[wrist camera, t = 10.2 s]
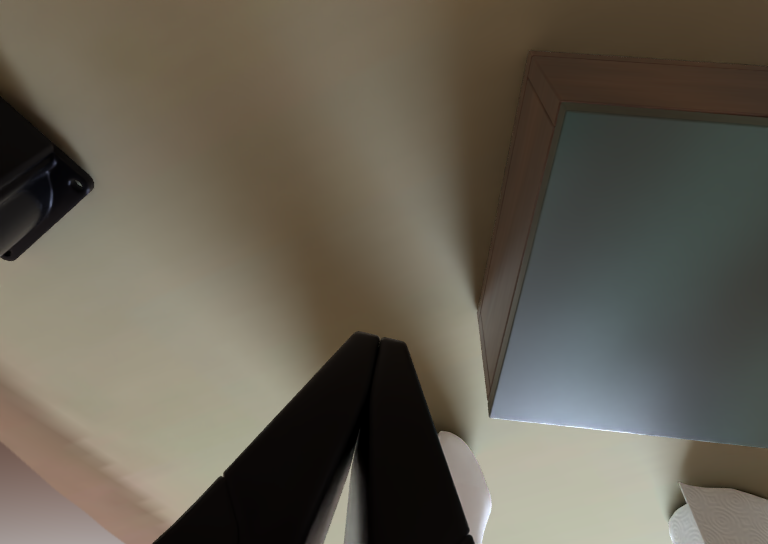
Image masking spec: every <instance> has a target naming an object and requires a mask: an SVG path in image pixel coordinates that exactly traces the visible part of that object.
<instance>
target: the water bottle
mask: <svg viewBox="0 0 768 544" xmlns="http://www.w3.org/2000/svg"><path fill="white" fill-rule="evenodd" d="M438 438H439V441H440V444H441V447H442V450H443V453H444V455H445V458H446V461H447V464H448V467H449V470H450V473H451V476H452V479H453V482H454V485H455V488H456V491H457V493H458V496H459V499H460V502H461V505H462V508H463V511H464V514H465V517H466V520H467V523H468V526H469V528H470V532H469V534H470V535H472V537H473V539H474V542H475V544H482V538H483V533H484V529H485V526H486V523H487V520H488V518H489V515H490V512H491V507H492V502H491V495H490V492H489V489H488V486H487V484H486V481H485V478H484V475H483V472H482V470H481V468H480V465H479V463H478V461H477V459H476V457H475V455H474V454H473V452H472V451H471V449H470V448H469V446H468V445H467V444H466V443H465V442H464V441H463V440H462V439H461V438H460V437H458V436H456V435H455V434H453V433H451V432H447V431H440V432H439V434H438Z"/></svg>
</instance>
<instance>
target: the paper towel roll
mask: <svg viewBox="0 0 768 544" xmlns="http://www.w3.org/2000/svg"><path fill="white" fill-rule="evenodd" d="M678 484H679V486H680V489H681V491H682V493H683V496H684V498H685V500H686V503H687V504H685V505H684V506H682V507H681V508H679V509H677V510H676V511H675V512H674V514H673V515H672V517H671V518H670V520H669V531H670V536H671V539H672V542H673V544H768V500H766V499H763V498H760V497H757V496H754V495H752V494H748V493H745V492H742V491H738V490H735V489H732V488H703V487H697V486H691V485H686V484H684V483H681V482H678Z"/></svg>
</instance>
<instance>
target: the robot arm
mask: <svg viewBox="0 0 768 544" xmlns="http://www.w3.org/2000/svg"><path fill="white" fill-rule="evenodd" d="M75 180H77V181H79V182H80V183H81V184H82V186H83V187H81V186H79V185H78V184H77V183H76V181H75ZM93 188H94V182H93V179H92V178H91V177H90V176H89V174H87V173H86V172H85V171H84V170H83V169H82V168H81V167H80V166H78V165H77V164H76V163H75V162H74V161H73V160H72V159H71V158H69V157H68V156H67V155H66V154H65V153H64V152H63V151H62V150H60V149H59V148H58V147H57V146H56V145H55V144H54V143H53V142H51V141H50V140H49V139H48V138H47V137H46V136H45V135H44V134H42V133H41V132H40V131H39V130H38V129H37V128H36V127H34V126H33V125H32V124H31V123H30V122H29V121H28V120H27V119H25V118H24V117H23V116H22V115H21V114H20V113H19V112H18V111H16V110H15V109H14V108H13V107H12V106H11V105H10V104H9V103H7V102H6V101H5V100H4V99H3V98H2V97H1V96H0V257H1V258H2V259H4V260H7V261H14V260H16V259H17V258H18V257H19V256H20V255H21V254H22V253H24V252H25V251H26V250H27V249H28V248H29V247H30V246H31V245H32V244H33V243H35V242H36V241H37V240H38V239H39V238H40V237H41V236H42V235H43V234H44V233H46V232H47V231H48V230H49V229H50V228H51V227H52V226H53V225H54V224H55V223H57V222H58V221H59V220H60V219H61V218H62V217H63V216H64V215H65V214H66V213H68V212H69V211H70V210H71V209H72V208H73V207H74V206H75V205H76V204H77V203H79V202H80V201H81V200H82V199H83V198H84V197H85V196H86V195H87V194H88V193H90V192H91V191H92V189H93ZM379 342H380V343H379ZM357 438H358V439H357ZM355 447H356V448H355ZM354 451H355V452H354ZM353 455H354V458H353ZM352 459H353V463H352ZM351 463H352V469H351V477H350V486H349V496H348V507H347V517H346V527H345V538H344V544H475V542H474V539H473V537H472V535H470V534H469V532H470V528H469V526H468V523H467V520H466V517H465V514H464V511H463V508H462V505H461V502H460V499H459V496H458V493H457V491H456V488H455V485H454V482H453V479H452V476H451V473H450V470H449V467H448V464H447V461H446V458H445V455H444V453H443V450H442V447H441V444H440V441H439V438H438V435H437V432H436V429H435V426H434V423H433V420H432V418H431V415H430V412H429V409H428V406H427V403H426V400H425V397H424V394H423V391H422V388H421V385H420V382H419V380H418V377H417V374H416V371H415V368H414V365H413V362H412V359H411V356H410V353H409V350H408V347H407V345H406V343H404V342H403V341H399V340H395V339H391V338H386V337H384V338H382V339H381V340H380V338H379V337H378V336H377V335H373V334H369V333H365V332H360V331H357V332H355V333H354V334H353V335H352V336H351V337H350V338H349V339H348V340H347V341H346V342H345V343H344V344H343V345H342V346H341V347H340V348H339V350H338V351H337V352H336V353H335V354H334V355H333V356H332V357H331V358H330V359H329V360H328V361H327V362H326V363H325V365H324V366H323V367H322V368H321V369H320V370H319V371H318V372H317V373H316V374H315V375H314V376H313V377H312V378H311V380H310V381H309V382H308V383H307V384H306V385H305V386H304V387H303V388H302V389H301V390H300V391H299V392H298V393H297V394H296V396H295V397H294V398H293V399H292V400H291V401H290V402H289V403H288V404H287V405H286V406H285V407H284V408H283V409H282V411H281V412H280V413H279V414H278V415H277V416H276V417H275V418H274V419H273V420H272V421H271V422H270V423H269V424H268V425H267V427H266V428H265V429H264V430H263V431H262V432H261V433H260V434H259V435H258V436H257V437H256V438H255V439H254V440H253V442H252V443H251V444H250V445H249V446H248V447H247V448H246V449H245V450H244V451H243V452H242V453H241V454H240V455H239V456H238V458H237V459H236V460H235V461H234V462H233V463H232V464H231V465H230V466H229V467H228V468H227V469H226V470H225V471H224V473H223V477H222V476H220V477H219V478H218V479H217V480H216V481H215V482H214V483H213V484H212V485H211V486H210V487H209V488H208V489H207V490H206V491H205V492H204V494H203V495H202V496H201V497H200V498H199V499H198V500H197V501H196V502H195V503H194V504H193V505H192V506H191V507H190V508H189V509H188V510H187V511H186V512H185V513H184V514H183V515H182V516H181V517H180V518H179V519H178V520H177V521H176V522H175V523H174V524H173V525H172V526H171V527H170V528H169V529H168V530H167V531H165V532H164V533H163V534H162V535H161V536H160V537H159V538H158V539H157V540H156V541H154V542H153V543H152V544H323V543H324V540H325V538H326V535H327V532H328V529H329V526H330V524H331V521H332V518H333V515H334V512H335V510H336V507H337V504H338V501H339V498H340V496H341V493H342V490H343V487H344V484H345V482H346V479H347V476H348V472H349V469H350V466H351Z"/></svg>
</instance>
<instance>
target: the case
mask: <svg viewBox="0 0 768 544" xmlns="http://www.w3.org/2000/svg"><path fill="white" fill-rule="evenodd" d="M562 102H572V103H585V104H598V105H611V106H624V107H636V108H649V109H662V110H675V111H687V112H700V113H713V114H726V115H739V116H751V117H764V118H768V66H757V65H742V64H727V63H712V62H697V61H682V60H667V59H652V58H636V57H621V56H606V55H591V54H576V53H561V52H546V51H531V50H530V51H529V52H528V57H527V62H526V67H525V72H524V77H523V82H522V87H521V92H520V97H519V102H518V108H517V113H516V118H515V123H514V128H513V133H512V138H511V143H510V148H509V153H508V158H507V164H506V169H505V174H504V179H503V184H502V189H501V194H500V199H499V204H498V209H497V214H496V220H495V225H494V230H493V235H492V240H491V245H490V250H489V255H488V260H487V265H486V270H485V275H484V281H483V286H482V291H481V296H480V301H479V306H478V311H477V317H478V324H479V333H480V341H481V350H482V359H483V367H484V376H485V384H486V393H487V400H488V401H489V397H490V393H491V388H492V384H493V380H494V376H495V372H496V368H497V364H498V360H499V356H500V352H501V347H502V343H503V339H504V335H505V331H506V327H507V323H508V319H509V315H510V311H511V306H512V302H513V298H514V294H515V290H516V286H517V282H518V278H519V274H520V270H521V265H522V261H523V257H524V253H525V249H526V245H527V241H528V237H529V233H530V229H531V224H532V220H533V216H534V212H535V208H536V204H537V200H538V196H539V192H540V188H541V183H542V179H543V175H544V171H545V167H546V163H547V159H548V155H549V151H550V147H551V143H552V138H553V134H554V130H555V126H556V122H557V118H558V114H559V110H560V106H561V103H562Z"/></svg>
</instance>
